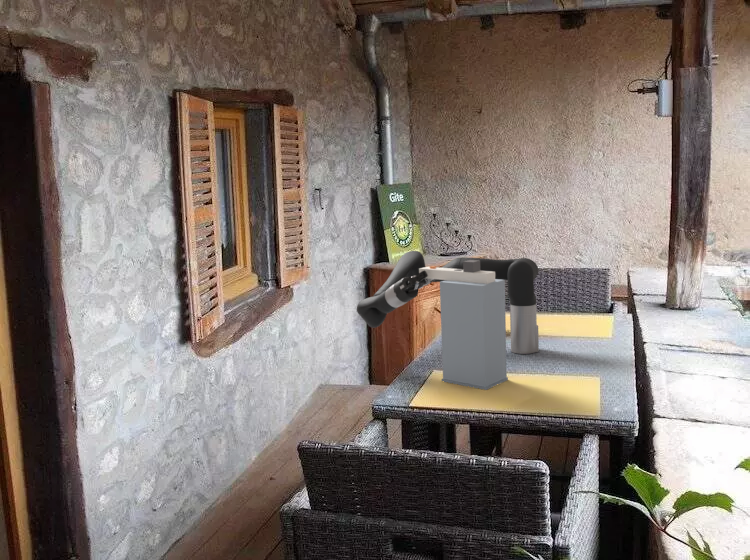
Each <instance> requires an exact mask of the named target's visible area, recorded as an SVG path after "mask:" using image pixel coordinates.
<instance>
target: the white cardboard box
mask: <svg viewBox="0 0 750 560" xmlns="http://www.w3.org/2000/svg"><path fill="white" fill-rule="evenodd" d="M439 267H440V266H435V265H431V266H426V267H424V268H419V273H420V272H422V271H424V270H425V271H426V273H427V275H428V276H427V277H426V278H428V279H439V280H451V281H462V282H474V283H485V284H488V283H492V282H495V272H492V271H480V261H479V260H468V261H464V262H463V269H452V268H439Z"/></svg>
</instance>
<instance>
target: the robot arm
mask: <svg viewBox="0 0 750 560" xmlns="http://www.w3.org/2000/svg"><path fill="white" fill-rule="evenodd" d="M468 260H479V261H480V271H492V272H495V279H501V280H505V281H507V294H508V298H509V315H510V316H509V321H510V322H509V323H510V329H509V330H510V351H511V353H514V354H519V355H520V354H521V355H524V354H526V355H530V354H535V353H539V352H540V351H539V346H540V344H539V343H540V341H539V340H540V339H539V325H538V324H537V323H538V322H537V319H538V318H537V316H538V315H537V296H536V294H535V285H534V284H535V283H534V280H535V279H536V278H537V277H538V274H539V266H538V264H537V263H536V262H535V261H534V260H532V259H530V258H527V257H521V258H513V259H512V258H511V259H494V258H481V257H479V258H478V257H456V258H454V259H452V260H451V261H449V262H447V263H446V264H444V265H443V266H438V267H439V268H452V269H463V262H464V261H468ZM424 267H427V266H426V263H425V258H424V256H423V254H422V252H420V251H418V250H410V251H406V252H405V253H404V254H403V255H402V256H400V258H399V259H398V261H397V263H396V265H395V266H394V268H393V270H392V271H391V273H390V275H389V276H388V278H387V279H386V280H385V282H384V283H383V285H381V286H380V287H379V289H378V290H377V291H376V292H375V293H374V294H373V296H370V297H367V298H364V299H362V300H361V301H360V302H358V304H357V306H356V312H357V313H358V315H359V316H360V317H361V318H362V320H363V321H364V322H365V323H366V324H367V326H368V327H370V328H372V329H373V328H378V327H380V326H381V325H382V324H384V322H385V320H386V318H387V315H388V314H389V313H392V312H393V311H395V310H396V309H398V308H399V307H402V306H404V305H405V304H407V303H409V302H410V301H412V300H413V299H414V298H416V297H418V295H419V289H422V288H424V286H425V287H426V286H429V285H430V284H432V283H440V282H442V281H446V280H439V279H428V278H426V277H427V276H428V275H427V273H426V271H425V270H424V271H422V272H420V273H419V268H424Z"/></svg>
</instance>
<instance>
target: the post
mask: <svg viewBox="0 0 750 560" xmlns="http://www.w3.org/2000/svg"><path fill="white" fill-rule="evenodd" d="M439 296H440V297H439V298H440V301H439V303H440V326H441V327H440V328H441V329H440V330H441V332H440V333H441V334H440V335H441V354H442V355H441V358H442V362H441V364H442V378H441V382H442V381H444V382H443V383H447V382H448V383H447V384H452V383H453V384H452V385H457V384H458V385H459V386H463V387H468V386H469V388H473V387H474V388H473V389H478V388H479V389H478V390H483V389H484V390H483V391H487V390H490V389H491V388H493V386H494V387H495V386H498V385H500V384H502V383H505V382H507V381H508V380H509V377H508V376H507V375H508V374H507V372H508V371H507V370H508V369H507V331H506V330H507V328H506V327H507V326H506V325H507V324H506V320H507V319H506V280H501V279H495V282H492V283H488V284H485V283H474V282H462V281H451V280H446V281H442V282H439ZM497 384H498V385H497ZM458 385H457V386H458Z"/></svg>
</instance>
